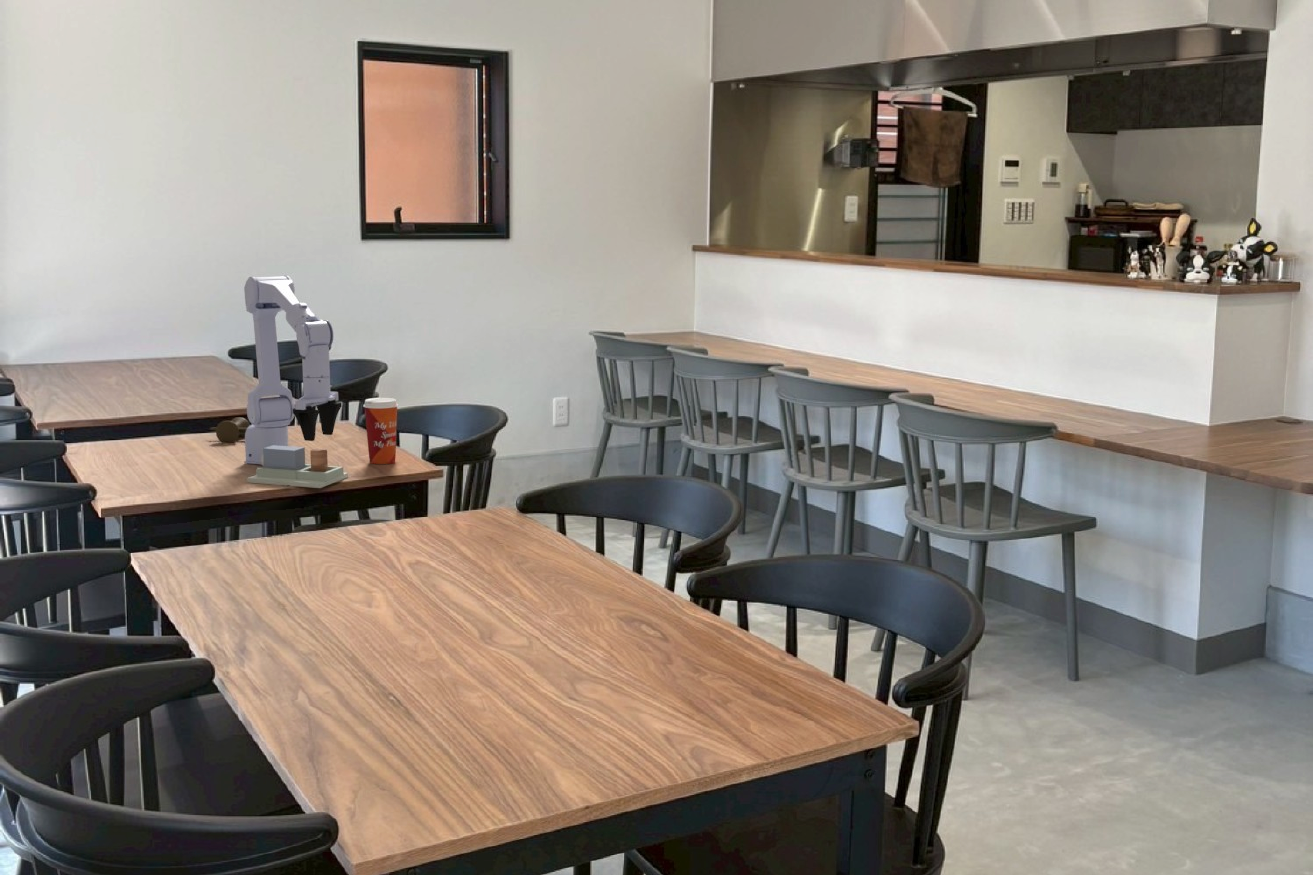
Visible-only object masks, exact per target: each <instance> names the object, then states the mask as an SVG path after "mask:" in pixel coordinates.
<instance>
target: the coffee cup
mask: <svg viewBox="0 0 1313 875" xmlns="http://www.w3.org/2000/svg"><path fill="white" fill-rule="evenodd" d="M362 407H363V408H364V415H365V426H366V428H365V429H366V439H367V449H368V459H369V463H370V464H371V465H390V464H394V463H395V462H396V456H397V455H396V452H397V428H398V426H397V423H398V407H399V403H398V402H397V399H396V398H392V397H372V398H366V399H365V400H364V403H363V405H362Z"/></svg>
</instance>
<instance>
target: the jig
mask: <svg viewBox="0 0 1313 875" xmlns="http://www.w3.org/2000/svg"><path fill="white" fill-rule="evenodd" d="M255 470H256V474H255V475H251V476H249V477H247V479H246V480H247V483H251V484H264V485H266V484H267V485H276V486H277V485H278V486H287V485H290V486H289V487H302V488H313V489H322V488H325V487H326V486H327V487H328V486H329V485H333V484H334V483H337V482H339V481H342V480H345V479H347V478H349V472H345V470H344V466H336V465H335V466H334V465H328V471H326V472H314V471H311V463H305V468H304V469H301V470H287V469H274V468H264V467H261V466H260V467H257V468H256V469H255Z"/></svg>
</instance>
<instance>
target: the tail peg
mask: <svg viewBox="0 0 1313 875" xmlns="http://www.w3.org/2000/svg"><path fill="white" fill-rule="evenodd" d="M309 454H310V464H311V471H314V472H326V471H328V466H329V465H328V463H329V461H328V449H326V448H315V449H311V450H310V453H309Z"/></svg>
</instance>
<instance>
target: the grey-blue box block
mask: <svg viewBox="0 0 1313 875" xmlns="http://www.w3.org/2000/svg"><path fill="white" fill-rule="evenodd" d="M305 464H306V449H305V447H304V446H303V447H302V446H291V445H290V446H289V445H288V446H277V445H272V446H269V447H266V448H263V455H262V457H261V464H260V465H261V466H262V467H263V468H274V469H287V470H301V469H304V468H305Z"/></svg>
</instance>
